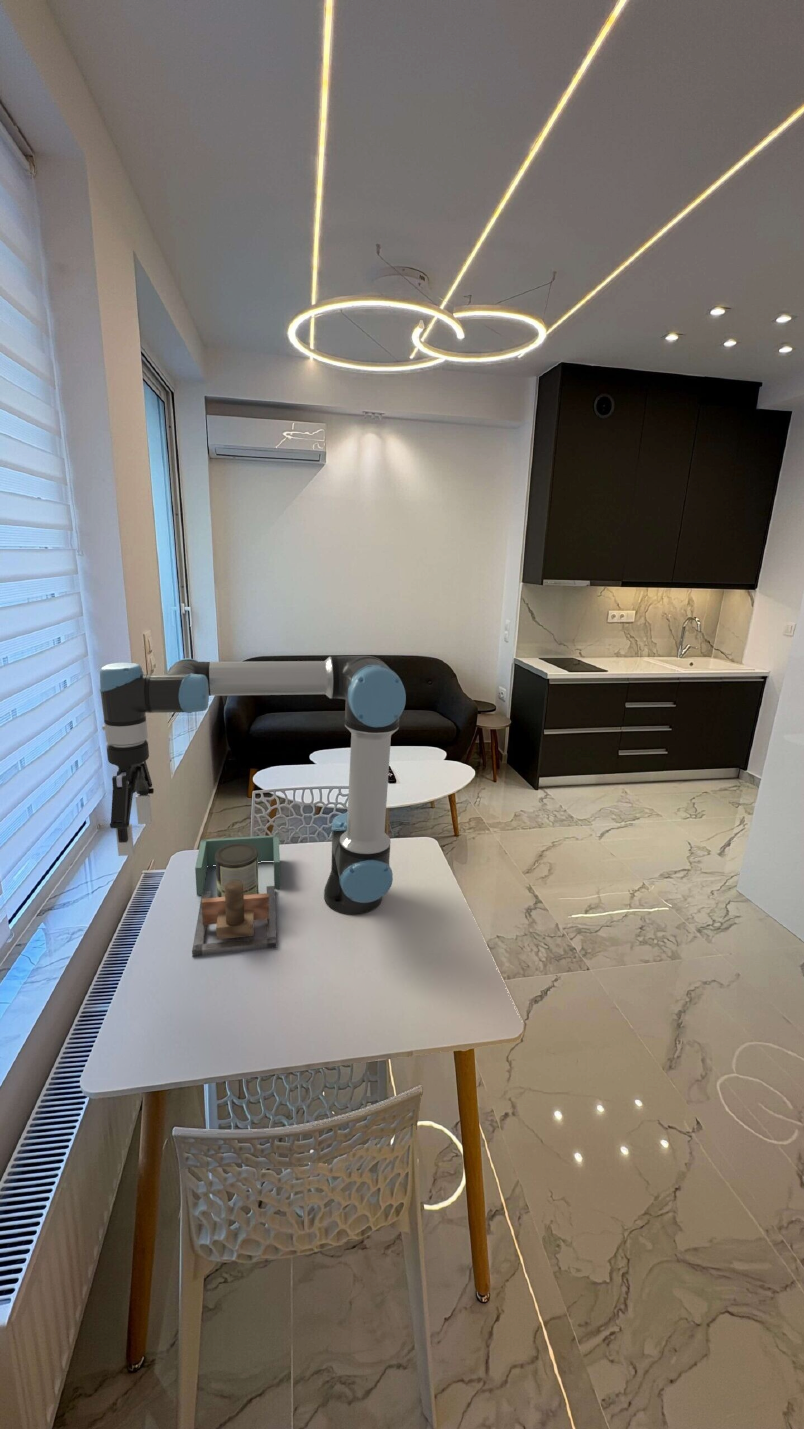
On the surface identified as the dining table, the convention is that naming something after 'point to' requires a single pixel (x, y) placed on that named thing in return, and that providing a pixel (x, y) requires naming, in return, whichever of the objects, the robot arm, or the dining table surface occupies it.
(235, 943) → the track
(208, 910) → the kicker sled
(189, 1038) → the dining table surface
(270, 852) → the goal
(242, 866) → the coffee can
